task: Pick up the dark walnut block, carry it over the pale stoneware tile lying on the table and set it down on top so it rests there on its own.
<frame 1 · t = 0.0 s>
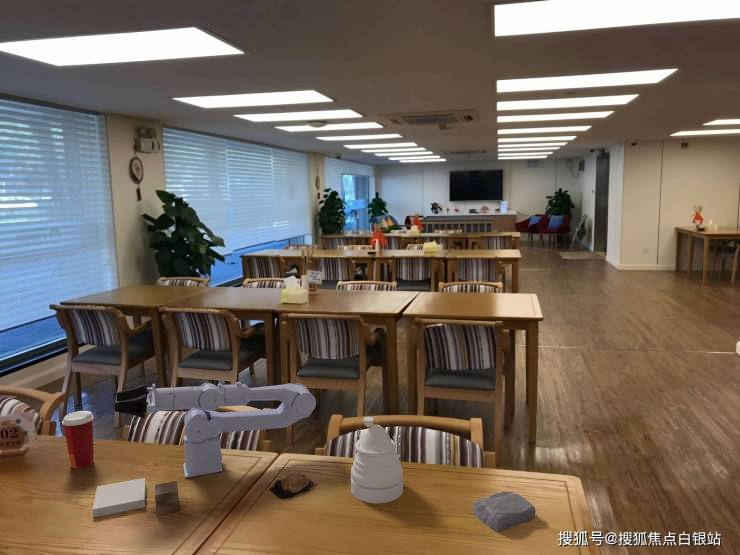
hand: (115, 401, 139), 22 cm above the table, tool horizontal, fingers open, 7 cm apart
honey pot: (377, 490, 138), on the table
paper cup: (82, 464, 153), on the table
stone block: (501, 516, 126), on the table
stoneware tile: (120, 500, 134), on the table
walnut block: (167, 507, 131), on the table
brown rounded lump: (293, 489, 139), on the table
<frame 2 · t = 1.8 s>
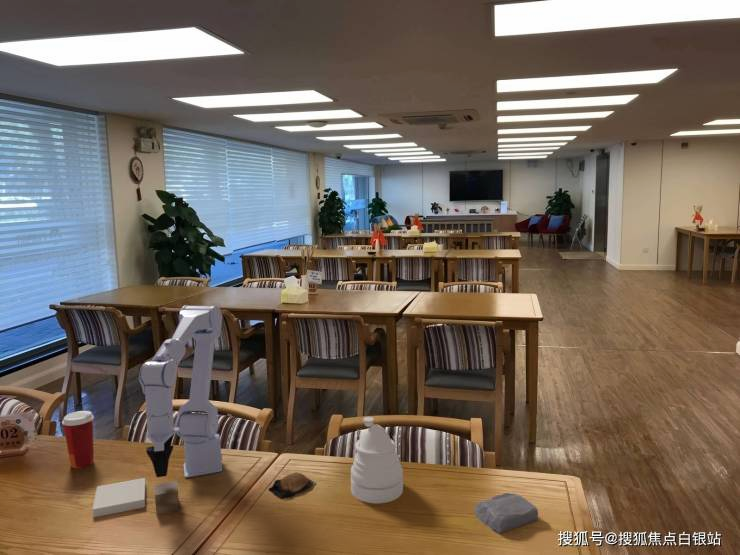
hand: (162, 468, 130), 10 cm above the table, tool pointing down, fingers open, 7 cm apart
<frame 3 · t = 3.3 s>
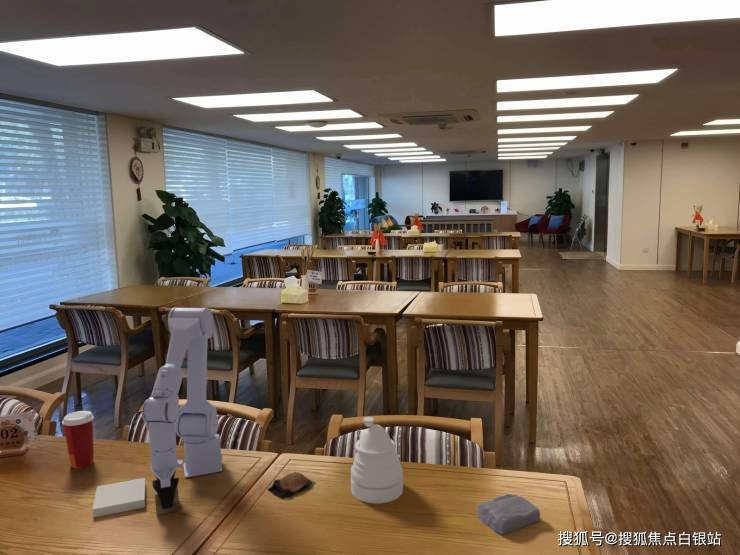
hand: (167, 501, 131), 1 cm above the table, tool pointing down, fingers closed on walnut block, 5 cm apart
walnut block: (167, 507, 131), on the table, touching gripper
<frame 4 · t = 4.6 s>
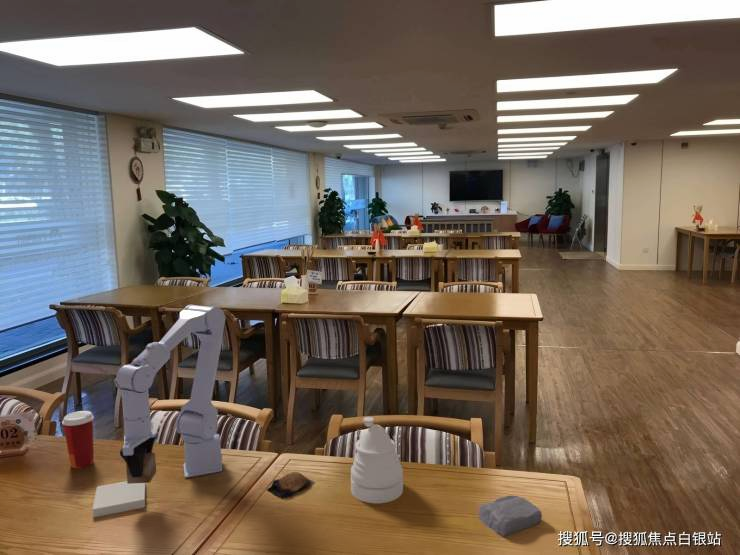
hand: (141, 470, 131), 8 cm above the table, tool pointing down, fingers closed on walnut block, 5 cm apart
walnut block: (142, 477, 132), point 7 cm above the table, touching gripper
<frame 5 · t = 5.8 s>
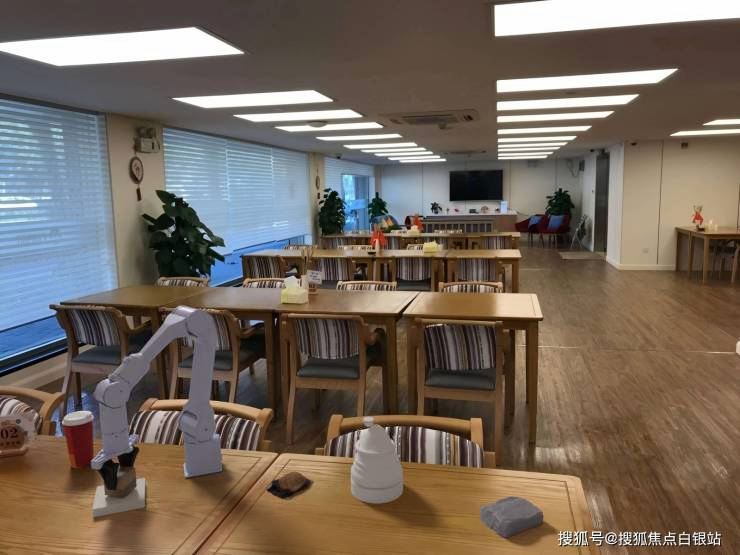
hand: (119, 483, 134), 4 cm above the table, tool pointing down, fingers closed on walnut block, 5 cm apart
walnut block: (121, 490, 134), point 2 cm above the table, touching gripper
when the fingers open (4 cm above the table, at t = 6.2 s): walnut block stays where it is, resting on stoneware tile.
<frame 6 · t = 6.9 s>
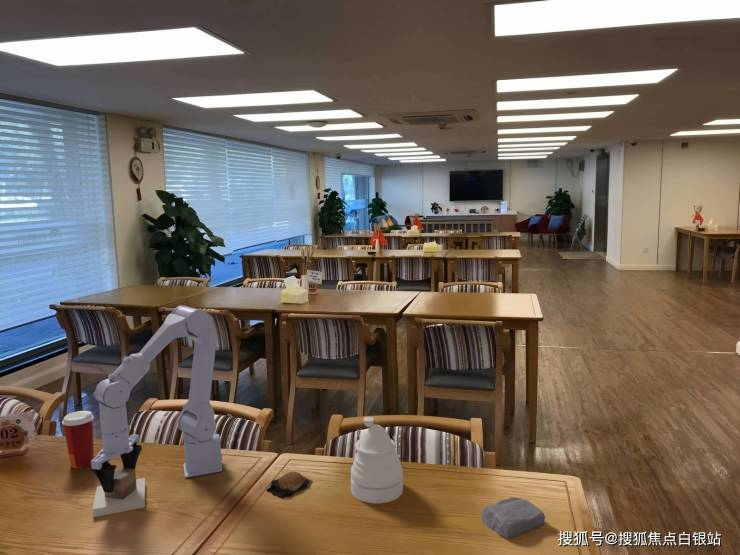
hand: (119, 483, 134), 4 cm above the table, tool pointing down, fingers open, 7 cm apart
walnut block: (120, 492, 134), point 2 cm above the table, touching stoneware tile
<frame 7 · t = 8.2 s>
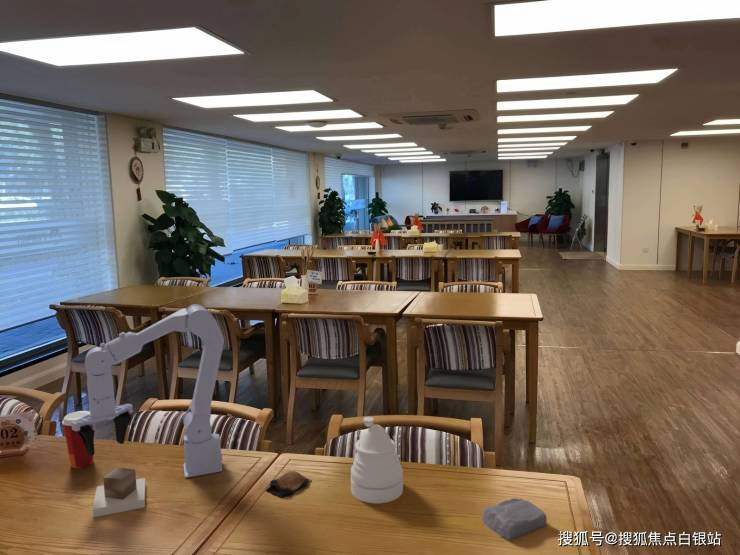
hand: (106, 448, 139), 10 cm above the table, tool pointing down, fingers open, 7 cm apart
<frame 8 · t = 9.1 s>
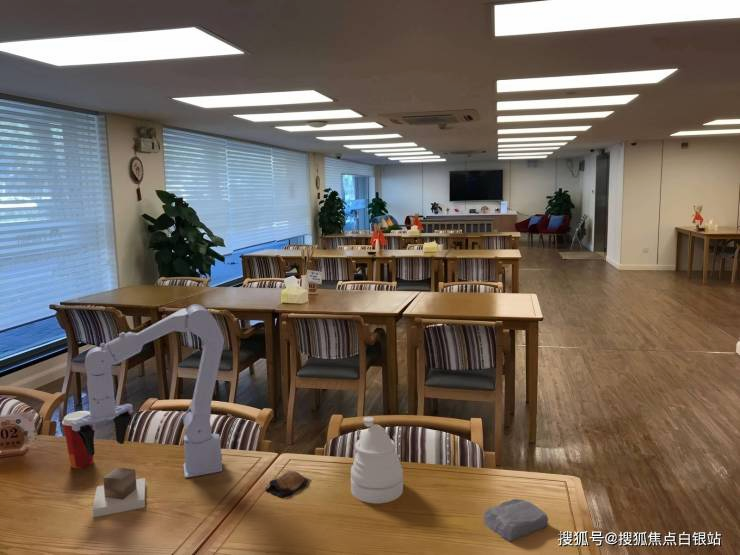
hand: (106, 448, 139), 10 cm above the table, tool pointing down, fingers open, 7 cm apart
at the end: walnut block inside the target area on the stoneware tile (0.3 cm from its centre), point 2.0 cm above the stoneware tile's base; walnut block tilted 0°; the gripper is holding nothing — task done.
